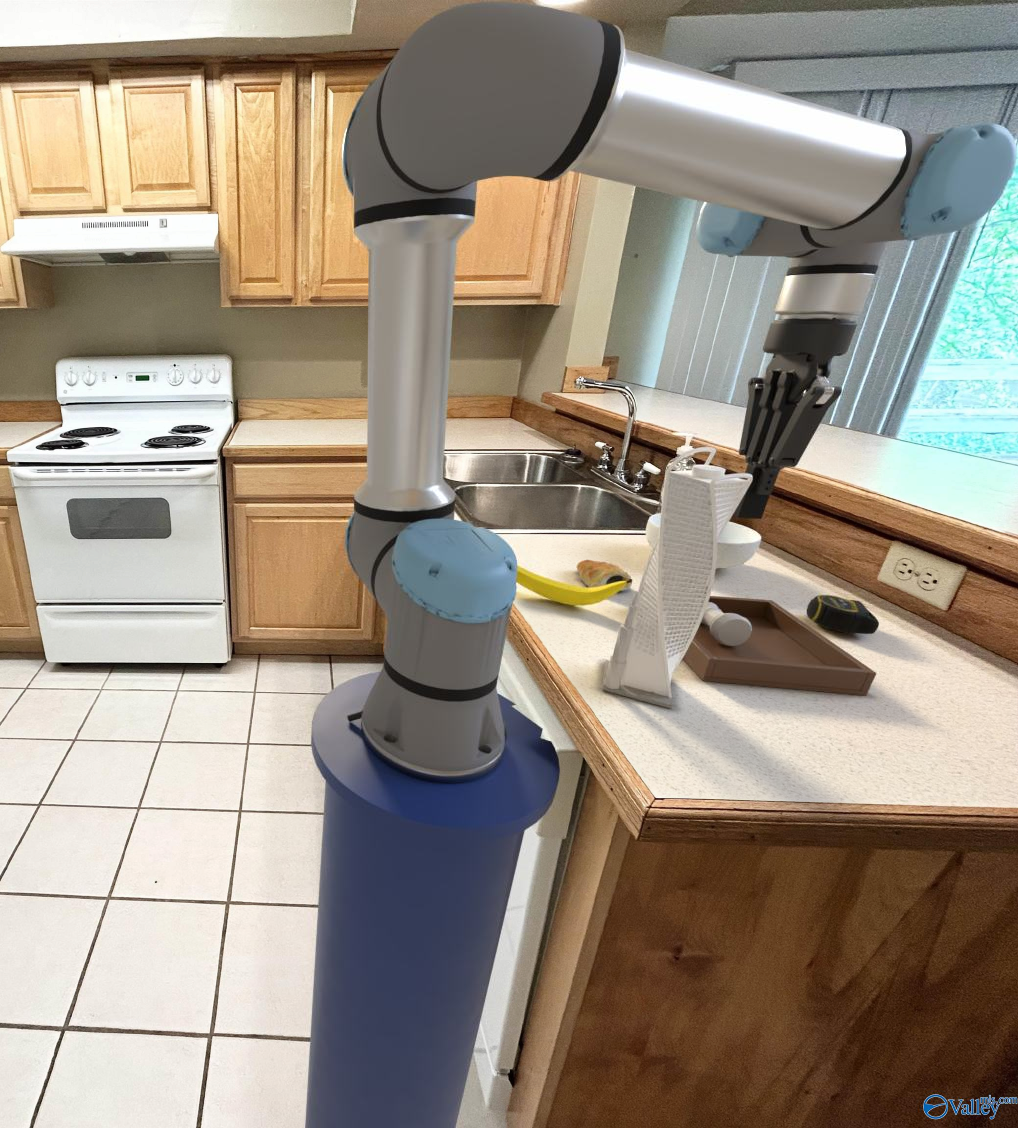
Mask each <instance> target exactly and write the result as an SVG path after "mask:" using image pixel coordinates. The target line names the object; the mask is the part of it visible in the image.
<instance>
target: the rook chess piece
mask: <svg viewBox="0 0 1018 1128" xmlns="http://www.w3.org/2000/svg"><path fill="white" fill-rule="evenodd" d="M701 623H703V624H705V625H707V626H709V627H710V632H711V635H712V636H713V638H714V639H715V640H716V641H717V642H718V643H720V644H722V645H724V646H731V647H732V646H737V645H740V644H742V643H744V642H745V641H746V640H747V639H748V638H749V637H750V635H751V631H752V627H751V623H750V622H749V621H748V620H747V619H746V618H744V617H742V616H740V615H738V614H733V613H723V612H722V611H721V610H720V609H718V607H717V606H716V604H714V603H712V602H708V604H707V607H706V610H705V613H704V616H703V618H702V620H701Z"/></svg>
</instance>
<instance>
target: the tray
mask: <svg viewBox="0 0 1018 1128" xmlns="http://www.w3.org/2000/svg"><path fill="white" fill-rule="evenodd" d="M708 602H712V603H714V604H716V606H717V607H718V609H720V610H721V611H722V612H723V613H733V614H738V615H740V616H742V617H744V618H746V619H747V620H748V621H749V622H750V623H751V627H752V631H751V635H750V637H749V638H748V639H747V640H746V641H745V642H744V643H742V644H740V645H737V646H732V647H731V646H724V645H722V644H720V643H718V642H717V641H716V640H715V639H714V638H713V636H712V635H711V632H710V627H709V626H707V625H705V624H703V623H700V625H699V628H698V630H697V632H696V634H695V636H694V638H693V640H692V642H691V644H690V646H689V648H688V649H687V651H686V653H685V655H684V657H683V658H682V661H684V663H685V664H687V666H688V667H689V668H690V669H691V670H692V671H693V673H694V674H696V675H697V677H698V678H699V679H700V680H701V681H702V682H711V683H712V682H713V683H722V684H723V683H724V684H736V685H746V686H756V687H768V688H778V689H779V688H781V689H790V690H800V691H801V690H802V691H810V692H811V691H813V692H823V693H833V694H834V693H835V694H845V695H846V694H847V695H857V696H867V695H868V693H869V691H870V689H871V687H872V684H873V682H874V680H875V679H876V676H877V672H876V671H874V670H873V669H872V668H870V667H869V666H868V665H866V664H864V663H863V662H861V661H860V660H859V659H858V658H856V657H854V656H853V655H852V654H850V653H849V652H847V651H846V650H844V649H843V648H842V647H840V646H838V645H837V644H836V643H834V642H833V641H831V640H830V639H829V638H827V637H825V636H824V635H823V634H822V633H820V632H818V631H817V630H816V629H814V628H812V626H810V625H808V624H807V623H806V622H804V621H802V620H801V619H800V618H798V617H797V616H795V615H794V614H793V613H791V612H790V611H788V610H787V609H785V608H784V607H783V606H781V605H780V604H778V603H777V602H775V601H774V600H772V599H760V598H748V597H735V596H734V597H731V596H720V595H719V596H718V595H710V598H709V601H708Z"/></svg>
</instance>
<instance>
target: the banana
mask: <svg viewBox="0 0 1018 1128" xmlns="http://www.w3.org/2000/svg"><path fill="white" fill-rule="evenodd" d="M516 581H517V582H516V584H518V585H520V586H522V587H523V588H525V589H527V590H529V591H530V592H532V593H534V594H537V595H539V596H540V597H543V598H546V599H549V600H550V601H554V602H558V603H560V604H564V605H570V606H581V607H583V606H591V605H595V604H598V603H601V602H603V601H605V600H608V599H609V598H611V597H613V596H614V595H616V594H617V593H619V592H621V591H620V590H621V589H623V588H624V587H625V586H626V585H627V584H628V583H631V582H632V583H633V579H632V578H631V579H629V580H627V581H619V582H615V583H611V584H607V585H604V586H600V587H594V588H589V587H585V586H584V587H583V586H577V585H573V584H568V583H564V582H560V581H558V580H557V581H556V580H554V579H550V578H547V577H545V576H542V575H539V574H537V573H535V572H532V571H530V570H527V569H526V568H524V567H521V566H519V565H518V564H517V579H516Z"/></svg>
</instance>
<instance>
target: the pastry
mask: <svg viewBox="0 0 1018 1128" xmlns="http://www.w3.org/2000/svg"><path fill="white" fill-rule="evenodd" d="M576 570H577V573H578V575H579V579H580V581H582V583H583V584H584V585H586V586H587V588H594V587H600V586H604V585H607V584H611V583H615V582H619V581H627V580H629V579H632V577H631V574H629V573H628V572H627V571H625V570H623V569H622V568H620V566H619V565H616V564H614V563H610V562H607V561H599V560H591V559H584V560H581V561H580V562H578V563H577V565H576ZM632 585H633V581H632V582H631V583H628V584H627V585H626V586H625V587H624V588H623V589H621V590H620V591H619V592H624V591H627V590H629V589H630V588H631V587H632Z"/></svg>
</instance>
